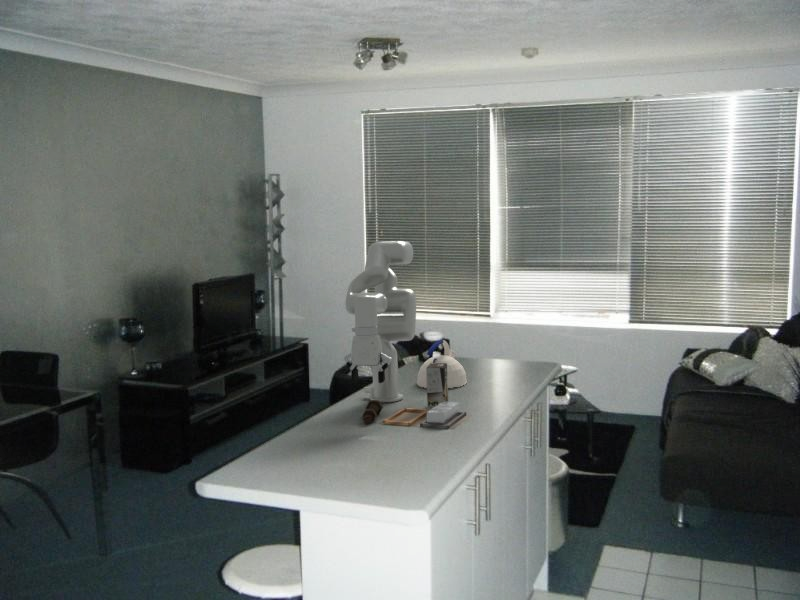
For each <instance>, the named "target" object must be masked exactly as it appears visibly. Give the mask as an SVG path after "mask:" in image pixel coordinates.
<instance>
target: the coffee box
mask: <svg viewBox="0 0 800 600" xmlns="http://www.w3.org/2000/svg"><path fill="white" fill-rule="evenodd" d="M426 372H427V388H426V403H427V404H426V406H427V410H431V409H432V408H434V407H435V406H437V405H438V404H440V403H441V402H449V389H448V377H447V363H435V364H432V363H430V364H429V365H428V367H427V368H426Z"/></svg>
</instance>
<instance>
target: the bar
mask: <svg viewBox="0 0 800 600" xmlns="http://www.w3.org/2000/svg"><path fill="white" fill-rule="evenodd" d="M460 407H461V406H460V402H455V401H448V402H441V403H440V404H438V405H437V406H435V407H434V408H432V409H431V410H429V411H428V412H427V423H428V424H442V425H447V424H449V423H450V422H451V421H453V420H454V419H455V418H457V417H458V416H459V415H460V412H461V411H460V409H461V408H460Z"/></svg>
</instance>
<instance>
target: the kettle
mask: <svg viewBox="0 0 800 600" xmlns="http://www.w3.org/2000/svg"><path fill="white" fill-rule="evenodd" d="M441 344H442V345H443V348H444V349H443V350H444V353H443V354H441V355H435V356H432V355H433V352H434V351H435V350H436V348H437V347H438V346H440V345H441ZM456 355H457V353H456V351H455V350H453V349H450V345H449V343H448V342H447V341H446V340H445V339H444V340H443V339H440V340H437V341H435V343H433V344H432V345H431V346H430V348H429V350H428V351H427V353H426V356H432V357H430V358H428V359H427V360H426V361H424V363H423V364H422V365H421V366H420V368H419V369H418V373H417V382H416V385H417V386H418V387H420V388H423V387H424V389H427V372H426V368H427V367H428V365H429V364H430V363H432V364H435V363H447V377H448V388H450V389H454V388H453V387H457V388H461V387H464V386H466V385H467V384H466V383H468V382H467V381H468V380H467V373H466V371H465V368H464V366H463V365H462V364H461V363H460V362H459V361H458V360H456V359H455V356H456ZM465 384H466V385H465ZM463 385H464V386H463ZM460 386H461V387H460Z"/></svg>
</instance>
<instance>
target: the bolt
mask: <svg viewBox="0 0 800 600" xmlns="http://www.w3.org/2000/svg"><path fill="white" fill-rule="evenodd" d="M383 408H384V407H383V405H382V402H379V401H378V400H370V399H369V402H368V403H367V406H366V407H365V410H364V412H363V413H362V415H361V416H362V421H363V423H364V424H371V423H373V422H375V421H376V418H377V416H378V415H380V414H381V411H382V409H383Z"/></svg>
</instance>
